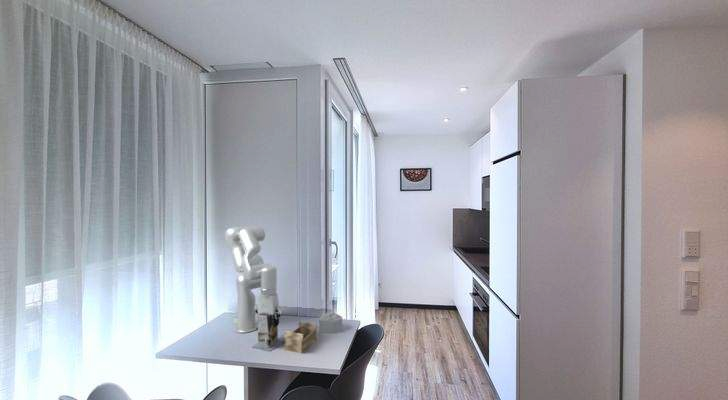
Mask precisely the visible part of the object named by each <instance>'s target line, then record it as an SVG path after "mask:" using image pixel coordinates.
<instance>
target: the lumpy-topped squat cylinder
mask: <svg viewBox="0 0 728 400" xmlns="http://www.w3.org/2000/svg"><path fill="white" fill-rule="evenodd" d="M318 332H319V333H320V334H325V335H326V334H328V335H333V334H334V333H335V334H339V333H341V332H343V316H342V315H340V314H338V313H335V312H334V311H331V312H329V313H323V314H321V315H320V317H319V318H318ZM338 332H339V333H338Z"/></svg>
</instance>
